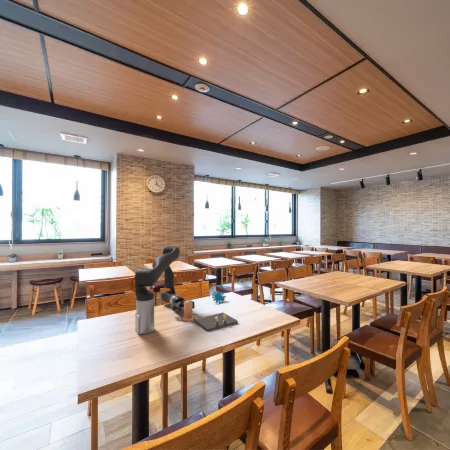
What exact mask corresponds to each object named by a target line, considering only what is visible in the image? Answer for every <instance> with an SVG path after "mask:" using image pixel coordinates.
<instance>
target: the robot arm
mask: <svg viewBox="0 0 450 450" xmlns="http://www.w3.org/2000/svg"><path fill="white" fill-rule="evenodd" d="M180 252H181V251H180V248H179V247H178V246H175V245H173V246H172V245H171V246H170V245H165V246H164V247H163V249H162V254H160V255H159V256H157V257H156V258H155V259H153V262H152V264H151V265H152V266H151V267H152V268H139V269H137V270H136V271H135V273H134V291H135V292H134V294H135V297H136V298H135V300H136V303H135V306H136V307H135V311H136V312H135V314H134V315H135V318H134V319H135V321H134V322H135V329H134V331H135V332H136V334H137V335H148V334H150V333H152V332H154V331H155V293H154V291H152V290H150V289H148V288H147V287H153V286H154V285H156V283H157V282H158V280H159V279H160V277H161V276H162V274H163V275H164V278H163V287H164V288H166V289H168V290H164V291H162V292H161V293H160V298H161V301H163V302H165V303H169V304H170V309H171V310H172V311H178V312H182V309H184V302H186V300H185V298H183V297H182V296H180V295H179V294H177V293H176V289H175V273H174V272H173V270H172V268H171V265H172V264H173V263H174V262H175V261H177V259H179V257H180V254H181V253H180ZM188 301H191V302H192V310H194V309H195V301H193V300H191V299H190V300H188Z"/></svg>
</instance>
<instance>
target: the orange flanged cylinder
mask: <svg viewBox="0 0 450 450" xmlns="http://www.w3.org/2000/svg"><path fill="white" fill-rule="evenodd" d="M185 301H186V300H185ZM191 301H192V300H191ZM191 301H189V300H188V301H186V302H184V307H183V316H181V320H182V322H192V321H194V319H196V318H195V316H194V315H193V308H192V302H191Z"/></svg>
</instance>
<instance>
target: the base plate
mask: <svg viewBox="0 0 450 450" xmlns="http://www.w3.org/2000/svg"><path fill="white" fill-rule="evenodd" d="M193 321H194V322H193V323H194V324H196V325H197V326H199V327H200V328H202V329H203V330H204V331H205V332H207V333H210V332H212V331H216V330H221V329H222V328H226V327H230V326H234V325H236V324H237V325H238V324H239V320H238V319H235V318H234V317H232V316H230V315H228V314H226V313H225V312H219V313H214V314H211V315H206V316H202V317H198V318H195V319H194V320H193Z"/></svg>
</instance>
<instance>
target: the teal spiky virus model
mask: <svg viewBox="0 0 450 450" xmlns="http://www.w3.org/2000/svg"><path fill="white" fill-rule="evenodd" d="M226 297H227V296H226V295H224V293H222V292H221V291H219V290H216V291H213V293H212V296H211V298H212V300H213V301H214V302H215V303H216V304H221V303H222V304H223V303H224V301H225V299H226Z"/></svg>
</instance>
